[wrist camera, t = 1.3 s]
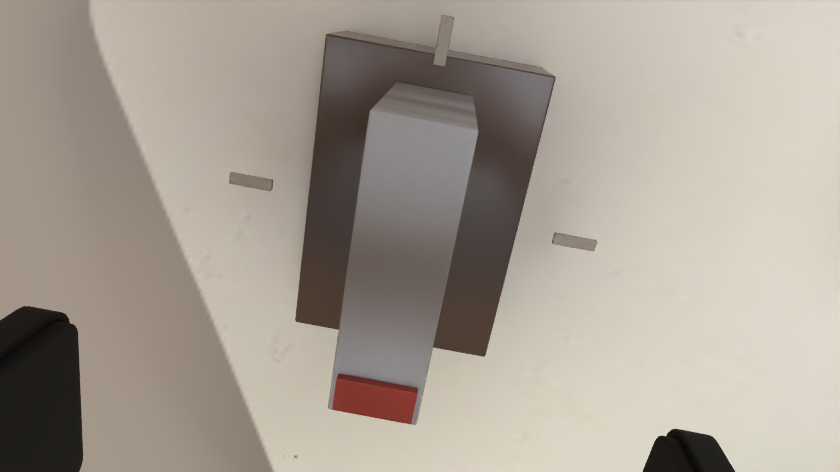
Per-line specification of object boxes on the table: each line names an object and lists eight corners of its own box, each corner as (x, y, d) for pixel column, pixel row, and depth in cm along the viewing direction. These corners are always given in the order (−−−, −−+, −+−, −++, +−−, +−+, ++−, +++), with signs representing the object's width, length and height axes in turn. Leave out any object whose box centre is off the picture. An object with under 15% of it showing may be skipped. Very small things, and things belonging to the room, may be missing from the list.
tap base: (273, -18, 20) (240, -23, 17) (626, 48, 20) (655, 55, 17) (249, 297, 24) (220, 337, 21) (538, 351, 24) (548, 398, 21)
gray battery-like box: (395, 81, 18) (367, 111, 12) (473, 96, 18) (479, 132, 12) (360, 310, 20) (325, 415, 15) (427, 322, 20) (415, 431, 15)
